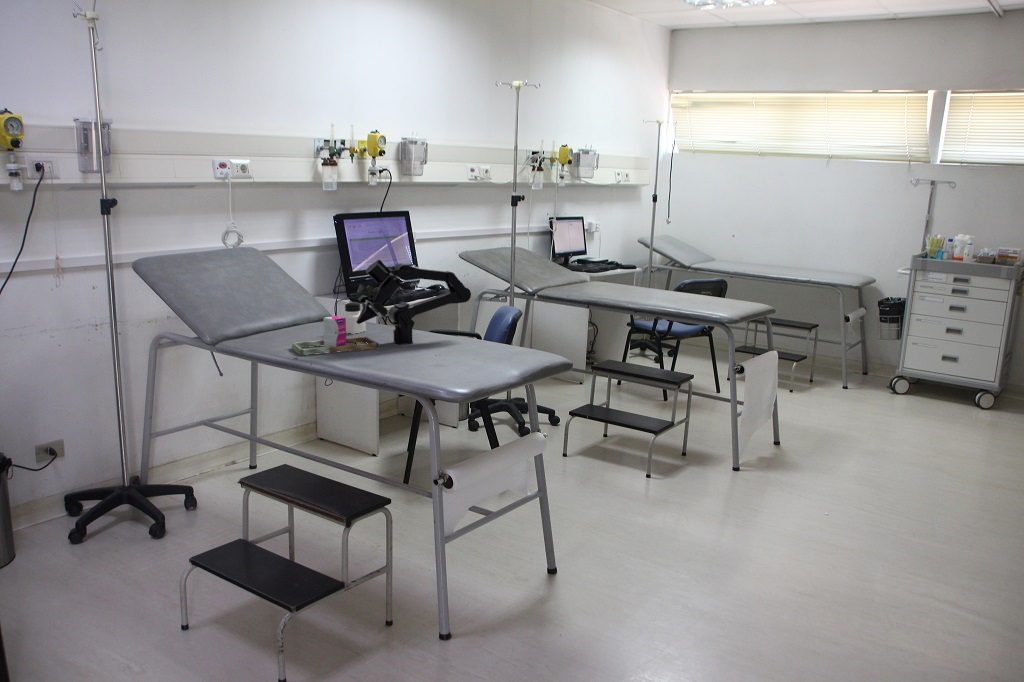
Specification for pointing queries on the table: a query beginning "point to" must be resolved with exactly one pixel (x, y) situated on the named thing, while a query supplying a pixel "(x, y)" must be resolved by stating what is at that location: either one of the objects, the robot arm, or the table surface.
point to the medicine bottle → (353, 318)
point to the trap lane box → (349, 346)
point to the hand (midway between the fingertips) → (357, 323)
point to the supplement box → (334, 331)
